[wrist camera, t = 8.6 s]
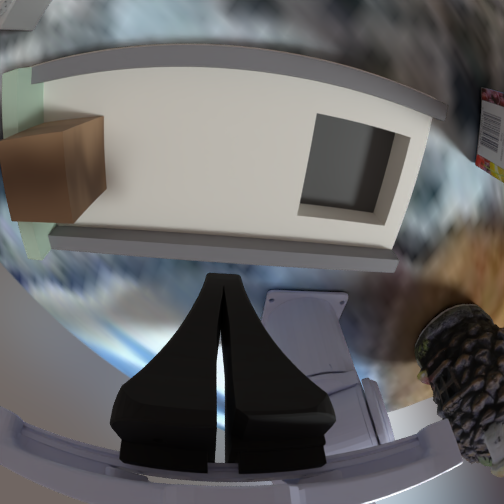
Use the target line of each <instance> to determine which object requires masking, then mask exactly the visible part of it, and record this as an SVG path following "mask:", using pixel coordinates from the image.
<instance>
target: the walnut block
mask: <svg viewBox="0 0 504 504" xmlns="http://www.w3.org/2000/svg"><path fill="white" fill-rule="evenodd" d="M0 164H1V171H2V177H3V183H4V188H5V193H6V198H7V203H8V207H9V212H10V216H11V220H12V221H18V222H44V223H67V224H74V223H75V222H76V220H77V219H78V218H79V217H80V216H81V215H82V214H83V213H84V212H85V211H86V210H87V209H88V207H89V206H90V205H91V204H92V203H93V202H94V201H95V200H96V199H97V198H98V197H99V196H100V195H101V194H102V193H103V192H104V191H105V190H106V189H107V184H106V171H105V151H104V116H95V117H84V118H75V119H66V120H59V121H52V122H45V123H42V124H39V125H36V126H34V127H31V128H29V129H26V130H24V131H21V132H19V133H16V134H14V135H12V136H9V137H7V138H5V139H3V140H1V141H0Z"/></svg>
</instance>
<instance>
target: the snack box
mask: <svg viewBox="0 0 504 504" xmlns="http://www.w3.org/2000/svg"><path fill="white" fill-rule="evenodd" d="M475 165H476V166H478V167H479V168H481V169H483V170H484V171H486V172H487V173H489V174H490V175H492V176H494V177H495V178H497V179H498V180H500V181H502V182H503V183H504V93H503V92H499V91H496V90H492V89H488V88H483V87H482V88H481V120H480V130H479V138H478V146H477V154H476V162H475Z"/></svg>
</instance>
